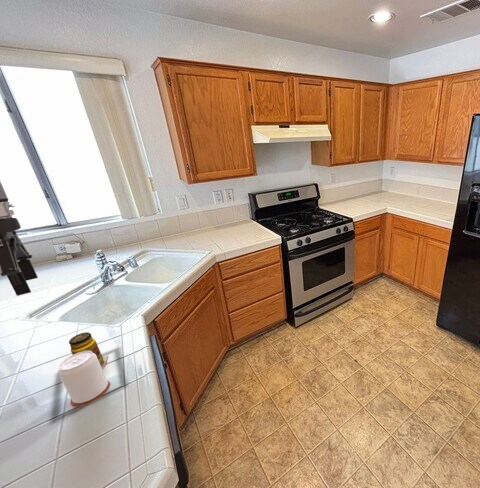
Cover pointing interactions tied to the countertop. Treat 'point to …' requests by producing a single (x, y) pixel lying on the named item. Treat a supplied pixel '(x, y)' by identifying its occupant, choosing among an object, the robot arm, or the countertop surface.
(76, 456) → the countertop surface
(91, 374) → the white upturned tub
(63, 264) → the countertop surface
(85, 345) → the condiment
